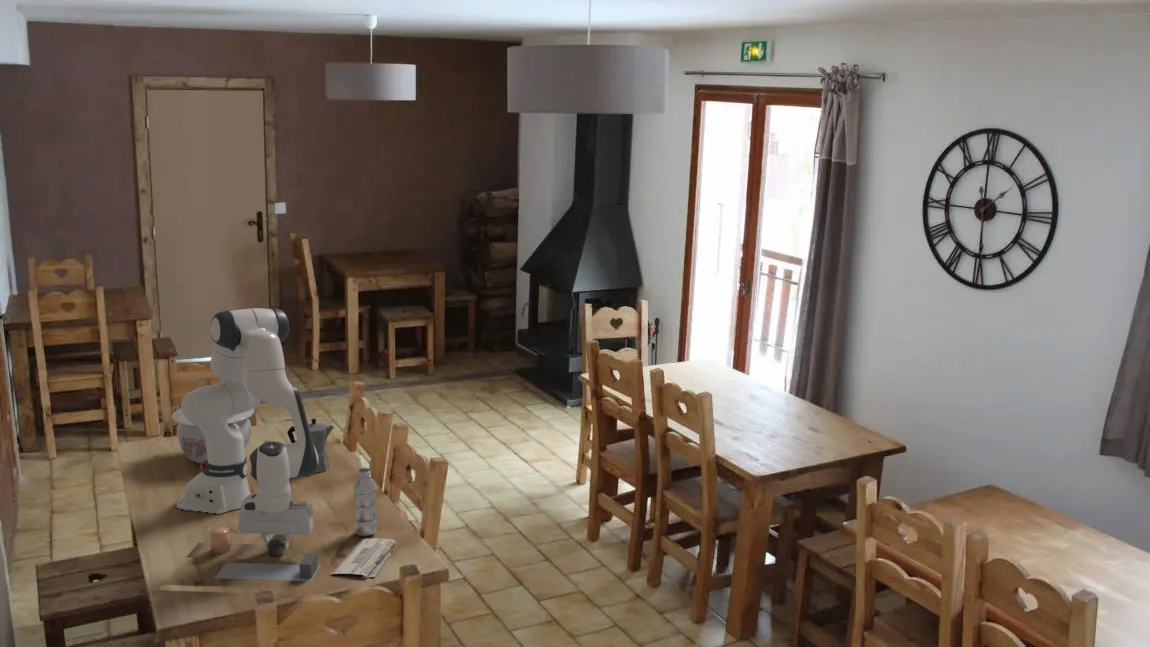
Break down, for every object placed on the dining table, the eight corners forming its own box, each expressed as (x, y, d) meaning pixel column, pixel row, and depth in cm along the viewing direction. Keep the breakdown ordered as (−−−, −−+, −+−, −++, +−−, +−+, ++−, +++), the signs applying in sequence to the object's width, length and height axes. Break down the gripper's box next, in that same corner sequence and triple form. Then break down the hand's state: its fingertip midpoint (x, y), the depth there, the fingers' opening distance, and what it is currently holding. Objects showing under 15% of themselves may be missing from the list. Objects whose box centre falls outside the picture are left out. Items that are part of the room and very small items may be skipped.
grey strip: (214, 582, 270) (212, 564, 269) (226, 566, 279) (225, 549, 278) (311, 585, 269) (310, 567, 268) (321, 569, 278) (320, 551, 277)
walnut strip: (186, 560, 282) (184, 543, 280) (199, 546, 290) (197, 529, 289) (279, 563, 281) (278, 546, 280) (289, 549, 290) (288, 532, 288)
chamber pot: (186, 445, 370) (182, 390, 365) (263, 443, 373) (260, 389, 368) (164, 474, 343) (159, 415, 338) (248, 472, 346) (245, 414, 341)
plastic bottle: (355, 529, 303) (353, 466, 299) (378, 529, 304) (377, 466, 299) (352, 539, 297) (350, 474, 292) (376, 538, 298) (374, 474, 293)
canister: (208, 554, 283) (207, 534, 282) (215, 546, 288) (213, 526, 287) (226, 554, 283) (225, 534, 282) (232, 546, 288) (231, 527, 286)
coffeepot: (335, 462, 356) (333, 413, 352) (335, 472, 347) (333, 422, 343) (289, 465, 353) (287, 415, 348) (288, 475, 344) (286, 424, 340)
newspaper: (373, 582, 273) (372, 573, 273) (331, 582, 276) (329, 573, 275) (403, 545, 295) (402, 537, 294) (363, 545, 297) (362, 537, 297)
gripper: (315, 497, 284) (317, 543, 288) (242, 495, 285) (245, 541, 288) (309, 506, 278) (311, 553, 282) (234, 504, 279) (237, 551, 282)
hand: (277, 547), depth 285 cm, fingers closed on walnut strip, 3 cm apart
